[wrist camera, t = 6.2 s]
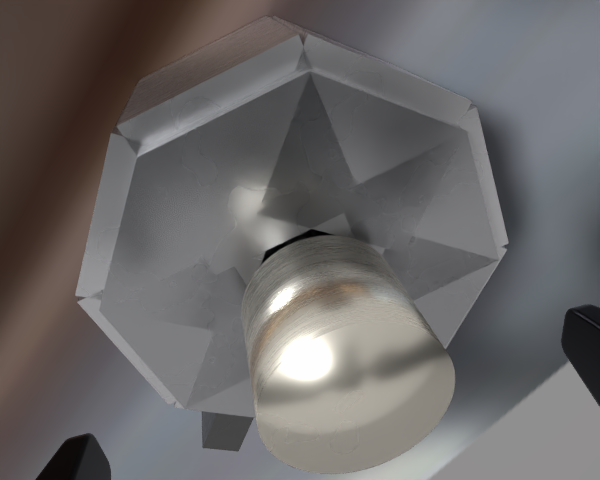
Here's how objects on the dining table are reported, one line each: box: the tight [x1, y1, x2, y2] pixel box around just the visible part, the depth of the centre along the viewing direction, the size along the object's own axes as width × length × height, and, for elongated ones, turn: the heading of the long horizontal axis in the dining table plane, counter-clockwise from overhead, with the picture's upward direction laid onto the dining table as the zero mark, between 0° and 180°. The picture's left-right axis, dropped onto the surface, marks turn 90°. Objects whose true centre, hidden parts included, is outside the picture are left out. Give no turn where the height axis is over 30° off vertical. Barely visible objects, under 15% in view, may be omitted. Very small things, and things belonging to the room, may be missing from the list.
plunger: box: [241, 229, 455, 474], centre depth 12 cm, size 8×8×9 cm
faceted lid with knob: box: [75, 15, 509, 451], centre depth 15 cm, size 10×13×6 cm
